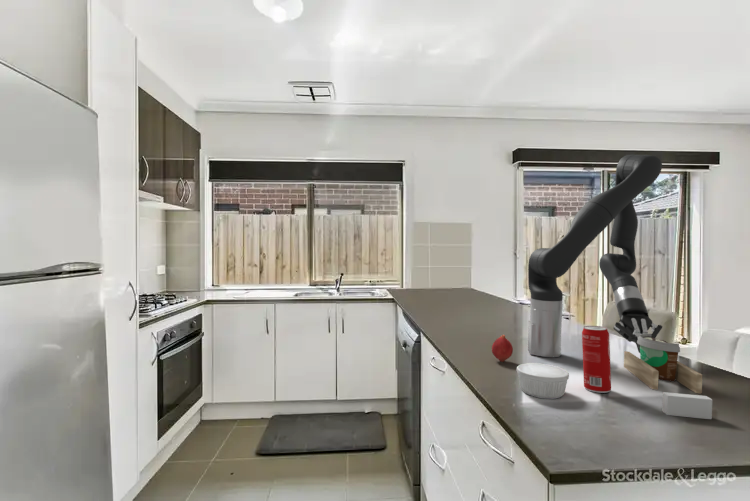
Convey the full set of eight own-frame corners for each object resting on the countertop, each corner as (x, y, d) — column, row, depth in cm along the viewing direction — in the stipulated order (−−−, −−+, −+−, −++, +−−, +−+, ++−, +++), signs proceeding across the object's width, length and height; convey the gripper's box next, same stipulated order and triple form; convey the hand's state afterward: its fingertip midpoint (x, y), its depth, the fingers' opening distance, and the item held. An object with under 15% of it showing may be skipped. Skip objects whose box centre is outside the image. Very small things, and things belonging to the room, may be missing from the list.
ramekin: (506, 386, 98) (506, 365, 98) (541, 381, 103) (541, 360, 103) (542, 404, 88) (542, 380, 88) (579, 397, 92) (579, 374, 92)
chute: (652, 389, 98) (653, 370, 98) (623, 366, 116) (624, 351, 116) (701, 393, 96) (702, 374, 96) (664, 370, 114) (665, 354, 114)
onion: (490, 363, 117) (491, 335, 117) (492, 358, 122) (493, 331, 122) (511, 365, 115) (512, 337, 114) (513, 360, 120) (513, 333, 120)
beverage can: (614, 395, 94) (617, 330, 94) (584, 392, 95) (586, 328, 95) (605, 386, 100) (607, 325, 99) (577, 383, 101) (579, 323, 101)
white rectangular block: (666, 414, 84) (667, 395, 84) (662, 410, 86) (662, 392, 85) (711, 419, 82) (712, 399, 82) (705, 415, 84) (706, 396, 84)
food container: (626, 367, 116) (627, 332, 115) (648, 368, 115) (650, 333, 115) (653, 382, 103) (655, 343, 103) (678, 383, 103) (680, 344, 103)
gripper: (609, 295, 124) (623, 345, 113) (658, 297, 122) (677, 349, 110) (603, 309, 130) (616, 358, 118) (649, 312, 127) (667, 362, 115)
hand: (645, 354), depth 114 cm, fingers closed
